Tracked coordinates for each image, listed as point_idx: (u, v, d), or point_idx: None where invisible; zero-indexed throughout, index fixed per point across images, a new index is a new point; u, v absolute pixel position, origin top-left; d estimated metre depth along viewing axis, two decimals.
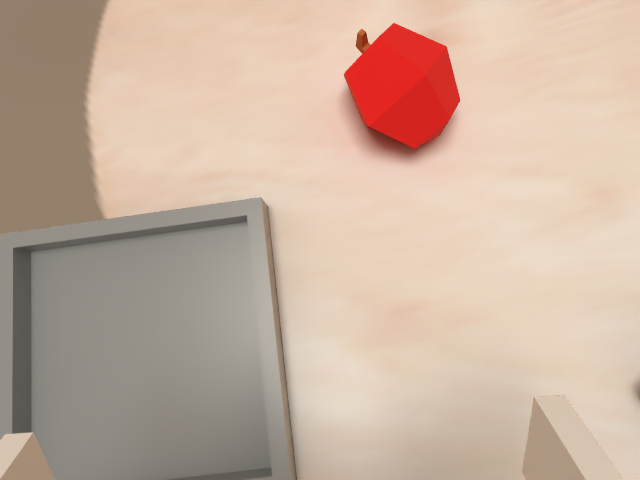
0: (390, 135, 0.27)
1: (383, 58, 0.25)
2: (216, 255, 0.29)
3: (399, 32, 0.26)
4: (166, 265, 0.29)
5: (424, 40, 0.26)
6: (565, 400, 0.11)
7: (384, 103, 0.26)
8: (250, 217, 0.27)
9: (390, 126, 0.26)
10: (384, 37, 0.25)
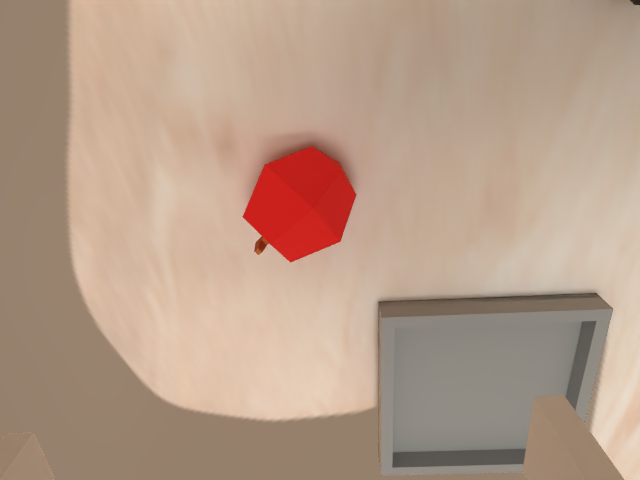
0: (346, 220, 0.29)
1: (288, 239, 0.27)
2: (415, 341, 0.36)
3: (256, 215, 0.27)
4: (416, 374, 0.37)
5: (261, 189, 0.27)
6: (565, 400, 0.11)
7: (325, 234, 0.28)
8: (397, 325, 0.33)
9: (341, 223, 0.29)
10: (268, 236, 0.27)
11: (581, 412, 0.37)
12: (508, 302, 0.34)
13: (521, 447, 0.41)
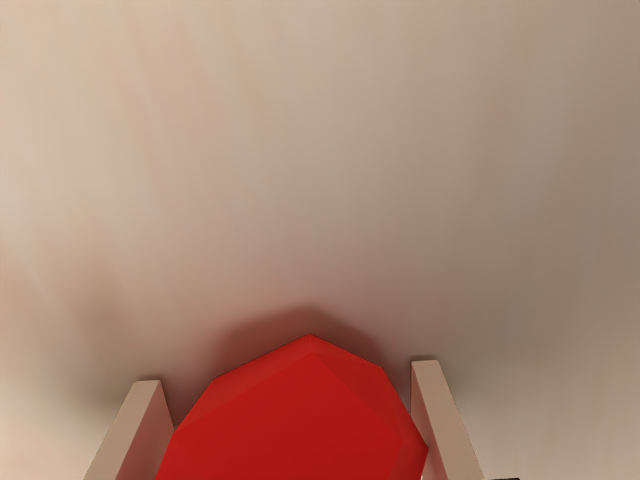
0: None
1: None
2: None
3: None
4: None
5: None
6: (437, 364, 0.13)
7: None
8: None
9: None
10: None
11: None
12: None
13: None
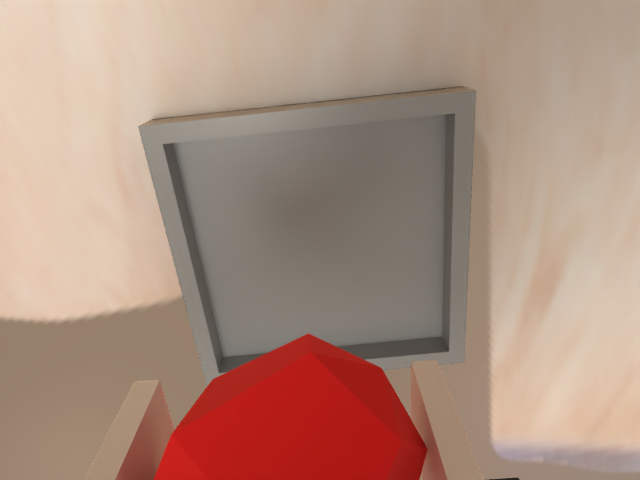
0: None
1: None
2: (215, 179, 0.25)
3: None
4: (230, 232, 0.27)
5: None
6: (436, 363, 0.13)
7: None
8: (165, 139, 0.23)
9: None
10: None
11: (460, 270, 0.26)
12: (332, 102, 0.23)
13: (398, 338, 0.30)
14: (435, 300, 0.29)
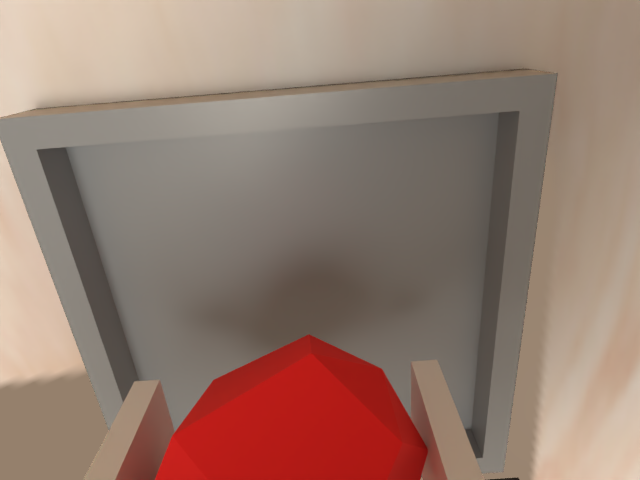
0: None
1: None
2: (136, 204, 0.16)
3: None
4: (162, 282, 0.18)
5: None
6: (436, 363, 0.13)
7: None
8: (39, 142, 0.14)
9: None
10: None
11: (508, 349, 0.17)
12: (317, 88, 0.15)
13: None
14: (464, 382, 0.20)
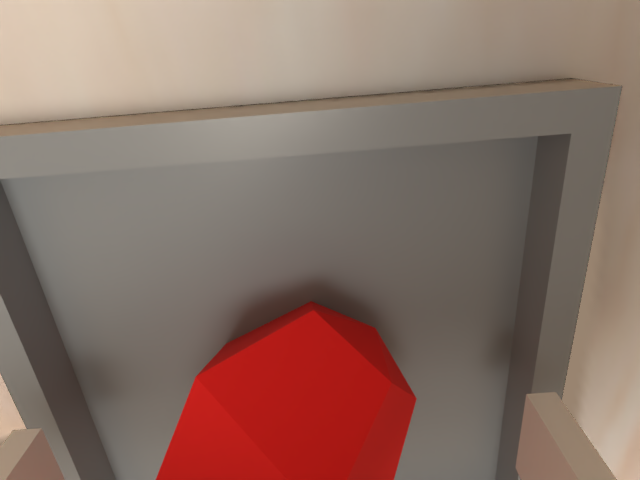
0: (398, 462, 0.13)
1: None
2: (91, 244, 0.13)
3: None
4: (126, 334, 0.15)
5: (191, 438, 0.11)
6: (557, 397, 0.11)
7: None
8: None
9: (388, 477, 0.12)
10: None
11: None
12: (312, 103, 0.12)
13: None
14: (487, 444, 0.17)
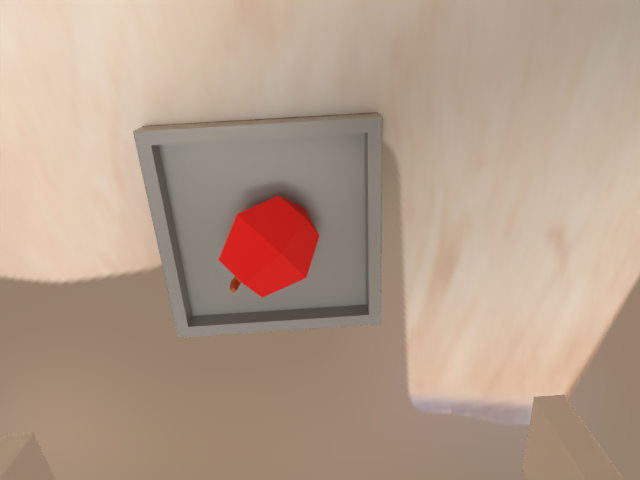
0: (311, 259, 0.33)
1: (260, 279, 0.30)
2: (190, 173, 0.33)
3: (230, 259, 0.31)
4: (200, 215, 0.34)
5: (235, 235, 0.31)
6: (565, 400, 0.11)
7: (293, 273, 0.32)
8: (152, 142, 0.30)
9: (307, 261, 0.32)
10: (241, 277, 0.30)
11: (375, 250, 0.35)
12: (279, 119, 0.32)
13: (331, 305, 0.38)
14: (360, 275, 0.37)
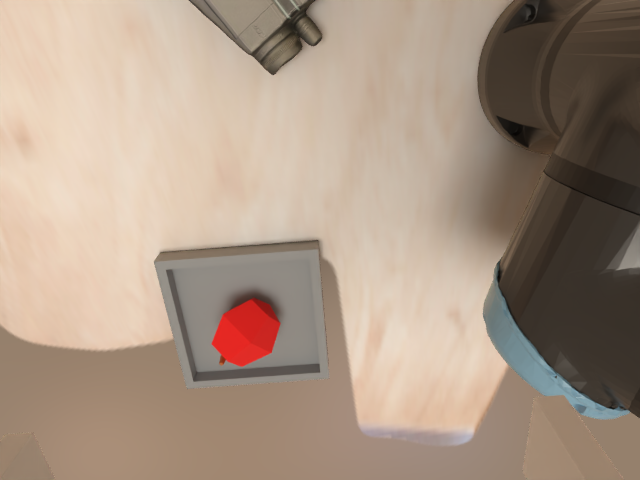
0: (275, 339, 0.48)
1: (238, 357, 0.46)
2: (192, 281, 0.49)
3: (219, 344, 0.46)
4: (200, 307, 0.50)
5: (221, 328, 0.46)
6: (565, 400, 0.11)
7: (261, 351, 0.47)
8: (166, 267, 0.46)
9: (271, 342, 0.48)
10: (226, 357, 0.46)
11: (321, 330, 0.50)
12: (251, 248, 0.47)
13: (295, 364, 0.53)
14: (314, 344, 0.52)
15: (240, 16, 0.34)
